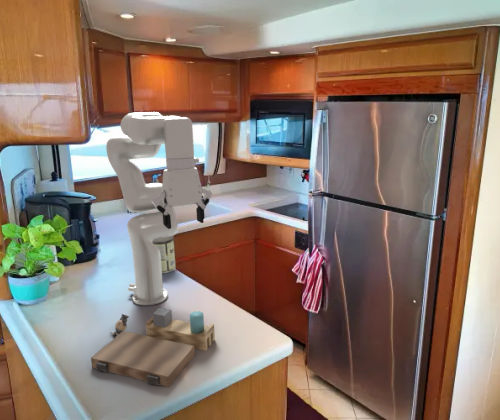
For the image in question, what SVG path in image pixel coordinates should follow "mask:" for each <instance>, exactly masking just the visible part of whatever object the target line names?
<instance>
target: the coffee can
mask: <svg viewBox="0 0 500 420" xmlns="http://www.w3.org/2000/svg"><path fill="white" fill-rule="evenodd" d="M174 240H175V237H174V235H173V236H170V237H165V238H160V239H157V240H153V241H152V243H153V244H154V245H156V246H157V247H158V249H159V250H160V256H161V269H162V274H168V273H170V272H173V271H174V270H175V269H176V258H175V255H176V254H175V243H174Z"/></svg>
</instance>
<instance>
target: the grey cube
mask: <svg viewBox="0 0 500 420" xmlns="http://www.w3.org/2000/svg"><path fill="white" fill-rule="evenodd" d="M172 313H173V312H172V309H171V308H166V307H158V308H157V310H155V311H154V312H153V313H152V317H153V322H154V326H159V327H164V328H166V327H167V326H168V325H169V324H170V323H171V322H172V319H173V317H172V316H173V314H172Z"/></svg>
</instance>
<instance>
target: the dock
mask: <svg viewBox="0 0 500 420" xmlns="http://www.w3.org/2000/svg"><path fill="white" fill-rule="evenodd" d="M195 355H196V353H195V348H194V346H192V345H187V344H183V343H178V342H173V341H169V340H164V339H159V338H154V337H150V336H147V335H144V334H139V333H135V332H130V331H126V330H124V331H123V332H121V333H120V334H119V335H118V336H117V335H116V336H115V337H114V338H113V339H112V340H111V341H110V342H108V343H107V344H106V345H104V347H102V348H101V349H100V350H98V351H97V352H96V353H95V354H94V355H92V356H91V357H90V361H91V367H92V368H94V369H96V371H101V372H104V373H107V372H109V373H114V374H117V375H121V376H124V377H125V376H126V377H128V378H132V379H138V380H141V381H145V382H147V384H150V385H154V386H159V385H160V386H164V387H168V388H169V387H170V386H171V385H172V384H173V382H175V380H176V379H177V378H178V376H180V374H181V373H182V372H183V370H184V369H185V368H186V366H187V365H188V364H189V363H190V361H191V360H192V359H193V358H194V357H195Z"/></svg>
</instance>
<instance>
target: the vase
mask: <svg viewBox="0 0 500 420" xmlns="http://www.w3.org/2000/svg"><path fill="white" fill-rule="evenodd" d="M129 317H130V316H129V315H127V314H123V313H122V314H121V317H120V318H119V320H117V321H116V322H115V324H114V330H115V331H113V332H112V331H111V332H110V331H109V334H111V335H112V336H115V335H116V337H117V336H118V335H119V334H120V333H122V332H123V331H126V329H127V326H128V324H127V322H128V319H129Z"/></svg>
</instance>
